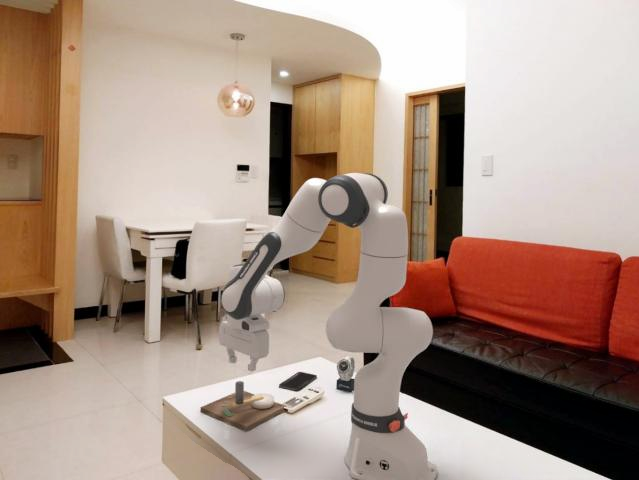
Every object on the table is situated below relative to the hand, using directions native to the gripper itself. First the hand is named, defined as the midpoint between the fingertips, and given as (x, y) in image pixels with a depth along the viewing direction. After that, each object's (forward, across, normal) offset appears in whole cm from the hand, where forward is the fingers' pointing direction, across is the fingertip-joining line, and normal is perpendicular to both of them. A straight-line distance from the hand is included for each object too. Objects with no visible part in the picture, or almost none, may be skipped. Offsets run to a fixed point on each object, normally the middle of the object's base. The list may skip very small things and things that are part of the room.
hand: (242, 366), depth 142 cm
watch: (+15, +5, +40) cm, 43 cm away
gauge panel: (+15, -4, +3) cm, 16 cm away
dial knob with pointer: (+13, -1, +5) cm, 14 cm away
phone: (+15, -10, +31) cm, 36 cm away
